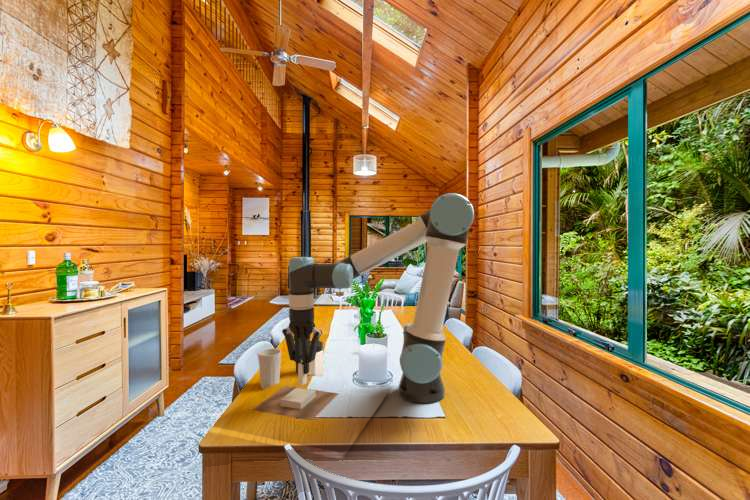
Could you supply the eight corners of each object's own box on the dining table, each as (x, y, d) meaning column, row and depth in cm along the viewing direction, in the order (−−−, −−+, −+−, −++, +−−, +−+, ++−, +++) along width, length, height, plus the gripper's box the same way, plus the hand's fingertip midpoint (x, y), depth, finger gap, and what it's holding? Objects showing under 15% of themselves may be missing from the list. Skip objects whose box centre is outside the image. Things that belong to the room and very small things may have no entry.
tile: (315, 390, 112) (296, 387, 115) (300, 402, 104) (280, 399, 106) (315, 396, 112) (296, 393, 115) (300, 409, 104) (280, 406, 106)
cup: (275, 391, 120) (274, 356, 120) (253, 389, 121) (253, 354, 121) (285, 382, 128) (285, 349, 127) (265, 380, 129) (265, 348, 129)
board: (338, 397, 115) (338, 393, 115) (311, 424, 98) (311, 420, 98) (285, 389, 121) (285, 385, 121) (251, 413, 104) (251, 409, 104)
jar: (299, 372, 137) (298, 341, 137) (319, 368, 141) (319, 339, 140) (303, 380, 129) (303, 347, 129) (325, 376, 132) (325, 345, 132)
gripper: (326, 306, 110) (327, 381, 110) (289, 304, 114) (291, 376, 114) (314, 310, 103) (315, 391, 103) (276, 308, 107) (277, 385, 107)
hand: (302, 383), depth 109 cm, fingers closed
